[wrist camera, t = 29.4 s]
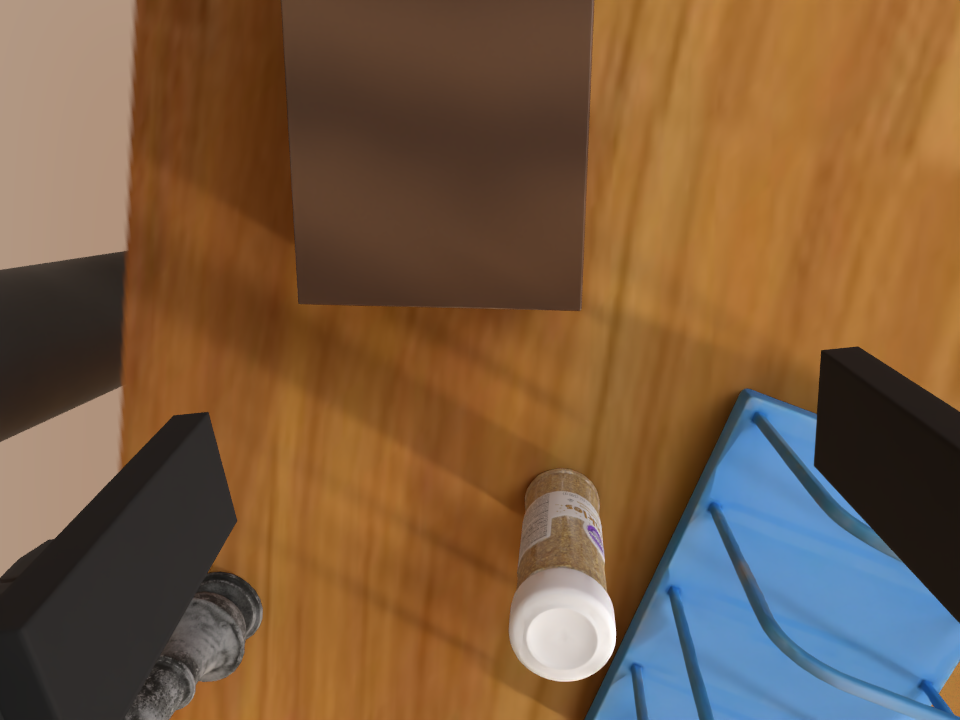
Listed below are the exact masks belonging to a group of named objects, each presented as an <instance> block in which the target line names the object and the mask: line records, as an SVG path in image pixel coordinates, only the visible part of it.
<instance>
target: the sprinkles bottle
mask: <svg viewBox="0 0 960 720" xmlns="http://www.w3.org/2000/svg"><path fill="white" fill-rule="evenodd" d="M599 510H600V500H599V496H598V492H597V489H596V488H595V486H594V485H593V483H592V482H591V481H590V480H589V479H588V478H587V477H586V476H584V475H583V474H581V473H579V472H577V471H573V470H571V469H562V468H558V469H553V470H549V471H546V472H544V473H542V474H539V475H538V476H537V477H536V478H535V479H534V480H533V481H532V482H531V483H530V485H529V487H528V488H527V491H526V494H525V516H524V520H523V526H522V535H521V544H520V552H519V561H518V571H517V574H518V583H517V591H516V592H515V594H514V597H513V600H512V603H511V610H510V620H509V637H510V643H511V646H512V649H513V651H514V652H515V654H516V656H517V658H518V659H519V660H520V661H521V663H522V664H523V665H524V666H525V667H527V668H528V669H529V670H530V671H532V672H533V673H535V674H537V675H539V676H541V677H543V678H546V679H549V680H554V681H562V682H568V681H576V680H580V679H584V678H586V677H589V676H591V675H593V674H594V673H596V672H597V671H599V670H600V669H601V668H602V667H603V666H604V665H605V664H606V663H607V661H608V660H609V658H610V657H611V655H612V653H613V650H614V647H615V643H616V626H615V616H614V609H613V605H612V602H611V599H610V597H609V595H608V594H607V589H606V578H605V571H604V565H605V558H604V548H603V538H602V527H601V521H600V518H599Z"/></svg>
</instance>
